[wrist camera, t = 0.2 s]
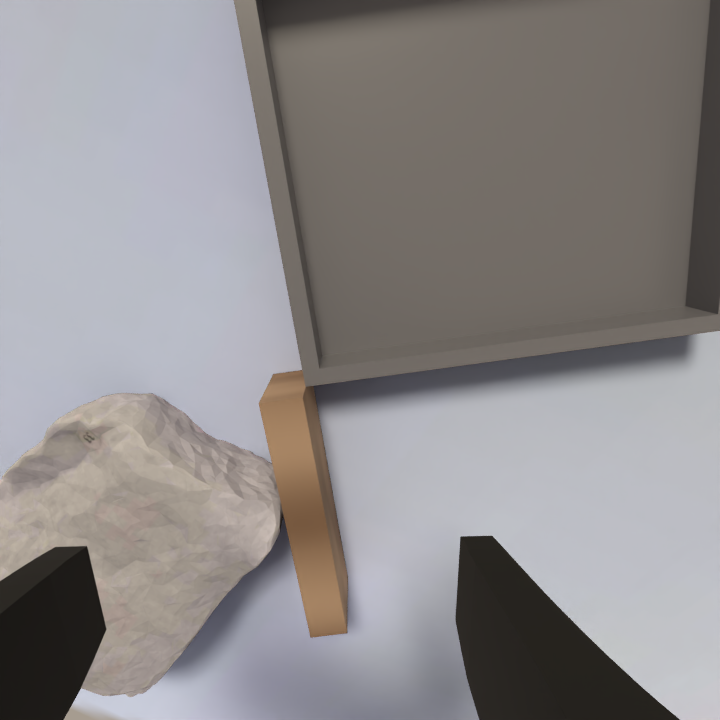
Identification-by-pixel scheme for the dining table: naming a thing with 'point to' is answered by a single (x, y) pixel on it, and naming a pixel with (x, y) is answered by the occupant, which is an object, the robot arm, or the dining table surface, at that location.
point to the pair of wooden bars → (306, 500)
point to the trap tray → (488, 175)
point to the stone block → (141, 525)
